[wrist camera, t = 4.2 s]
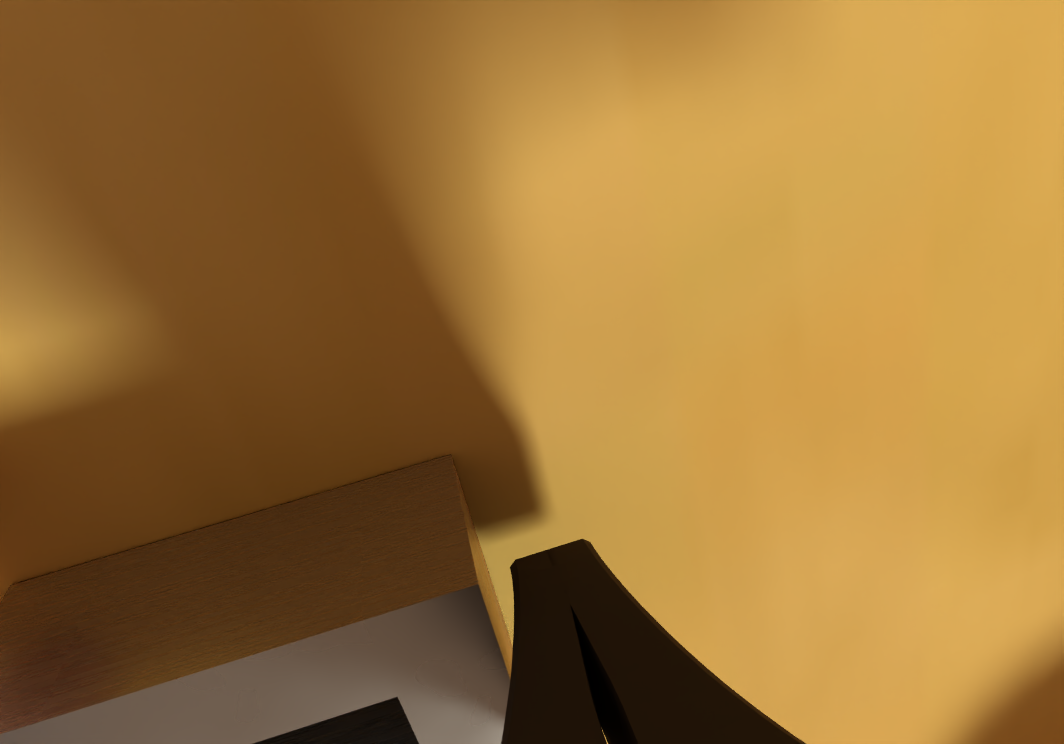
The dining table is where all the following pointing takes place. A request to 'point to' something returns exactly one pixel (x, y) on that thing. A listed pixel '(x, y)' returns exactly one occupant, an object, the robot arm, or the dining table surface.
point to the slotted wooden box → (271, 630)
